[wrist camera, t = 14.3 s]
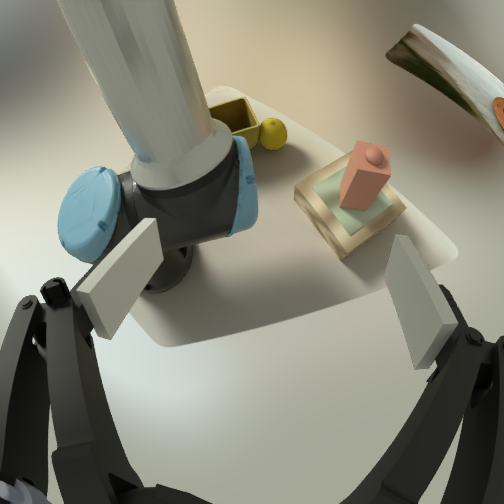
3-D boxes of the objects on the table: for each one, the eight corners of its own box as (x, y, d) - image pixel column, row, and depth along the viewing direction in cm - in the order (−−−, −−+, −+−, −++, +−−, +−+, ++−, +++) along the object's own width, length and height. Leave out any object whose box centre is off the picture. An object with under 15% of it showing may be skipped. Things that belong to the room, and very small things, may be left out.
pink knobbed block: (339, 206, 42) (358, 166, 30) (340, 182, 43) (357, 137, 31) (365, 211, 42) (392, 173, 29) (365, 186, 43) (389, 144, 30)
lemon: (284, 159, 52) (284, 134, 44) (257, 155, 53) (253, 130, 45) (289, 138, 53) (289, 112, 45) (262, 134, 54) (259, 109, 46)
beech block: (293, 200, 50) (295, 184, 44) (349, 165, 51) (355, 148, 45) (339, 261, 46) (348, 252, 40) (394, 220, 47) (406, 207, 41)
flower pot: (250, 123, 55) (245, 95, 46) (264, 153, 53) (260, 125, 44) (211, 136, 55) (201, 109, 46) (222, 167, 53) (211, 141, 44)
